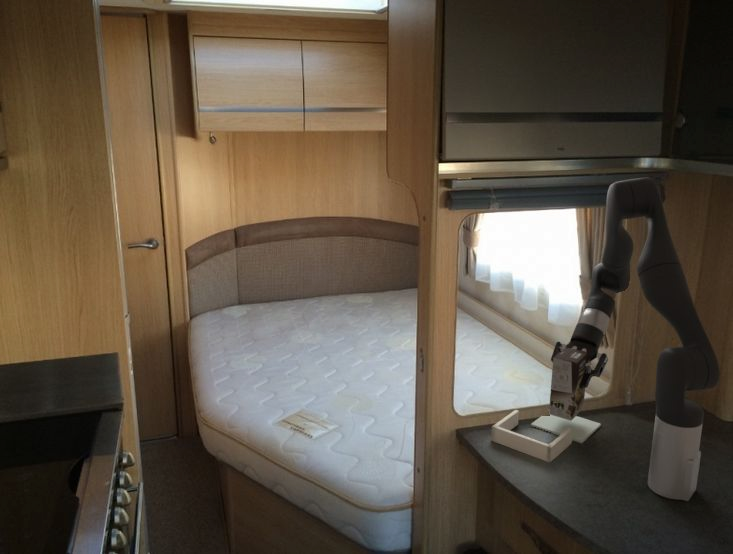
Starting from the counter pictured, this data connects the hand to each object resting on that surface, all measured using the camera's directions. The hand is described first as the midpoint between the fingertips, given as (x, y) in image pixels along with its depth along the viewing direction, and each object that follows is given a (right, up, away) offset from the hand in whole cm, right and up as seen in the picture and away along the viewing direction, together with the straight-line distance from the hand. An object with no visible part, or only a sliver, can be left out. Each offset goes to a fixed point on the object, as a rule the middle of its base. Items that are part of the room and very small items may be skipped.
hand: (568, 383), depth 169 cm
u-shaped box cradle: (-10, -14, -4) cm, 18 cm away
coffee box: (0, -8, +2) cm, 8 cm away
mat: (0, -12, +4) cm, 12 cm away
